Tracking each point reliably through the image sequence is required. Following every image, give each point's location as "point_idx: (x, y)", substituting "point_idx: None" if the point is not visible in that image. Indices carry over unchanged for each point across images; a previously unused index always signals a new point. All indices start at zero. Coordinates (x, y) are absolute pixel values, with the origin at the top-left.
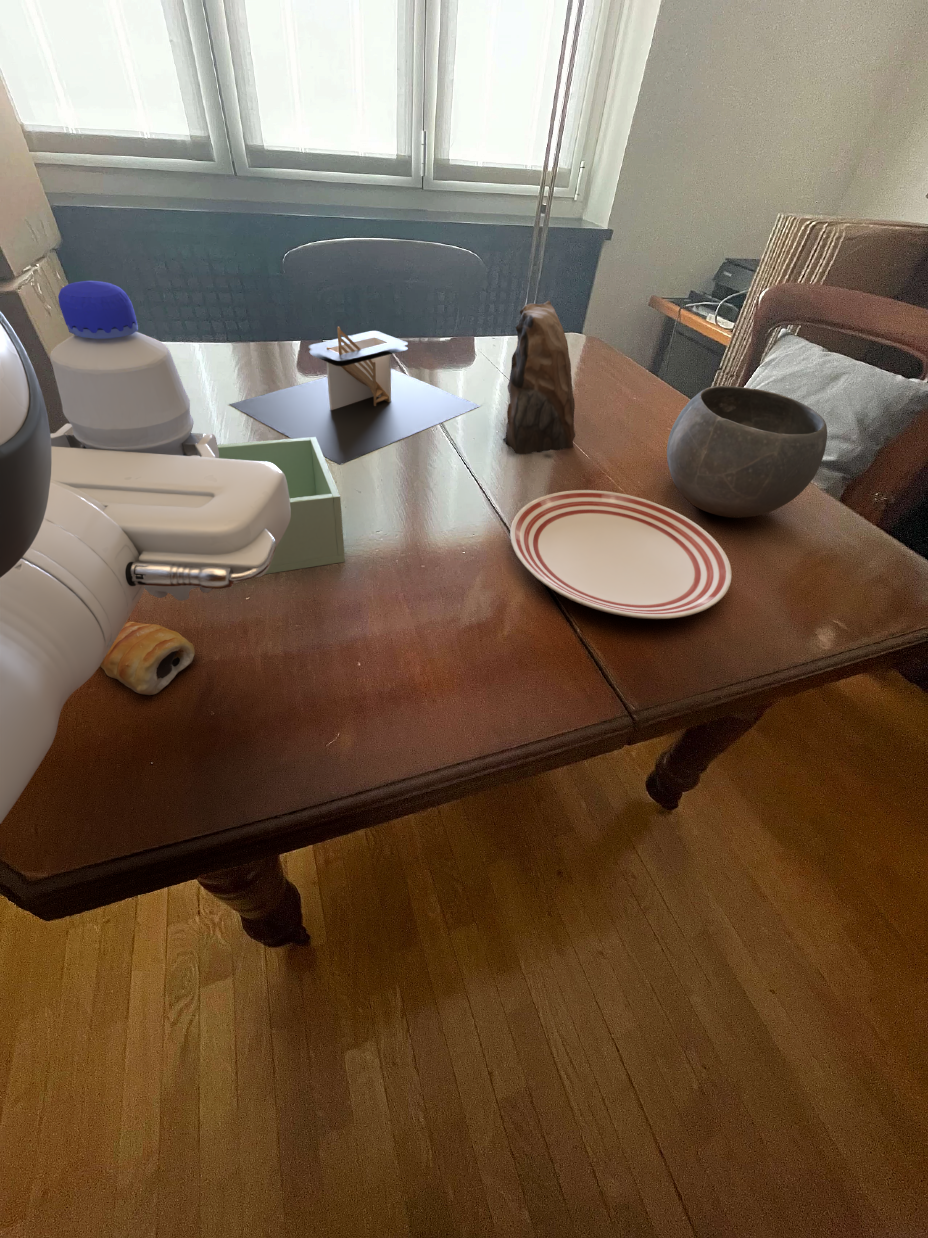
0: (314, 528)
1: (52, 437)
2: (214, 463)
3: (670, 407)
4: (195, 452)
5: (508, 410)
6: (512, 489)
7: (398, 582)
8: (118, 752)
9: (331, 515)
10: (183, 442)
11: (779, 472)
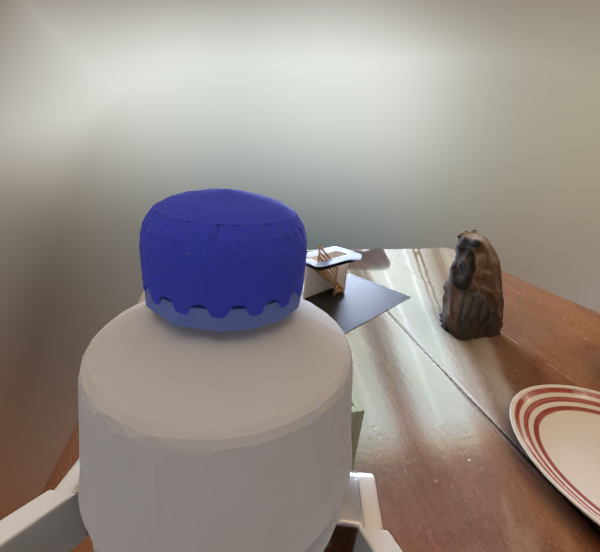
0: None
1: (43, 513)
2: None
3: (550, 300)
4: (350, 538)
5: (450, 305)
6: (474, 376)
7: (418, 508)
8: None
9: (351, 428)
10: None
11: None
